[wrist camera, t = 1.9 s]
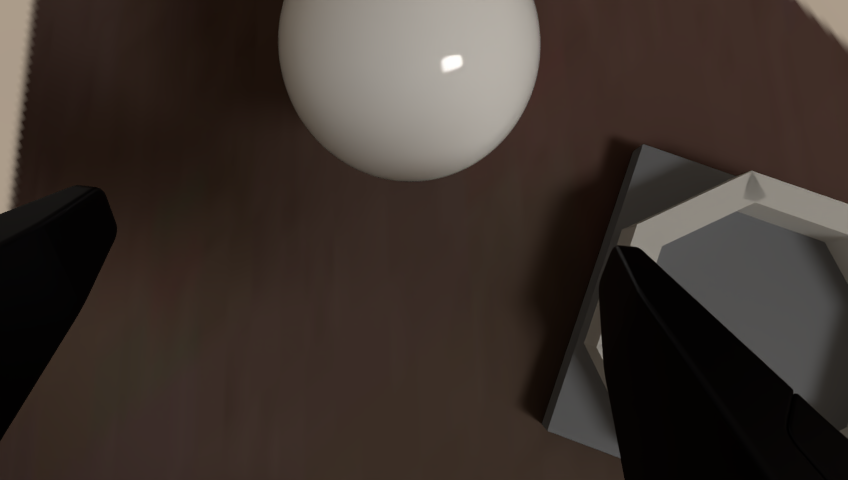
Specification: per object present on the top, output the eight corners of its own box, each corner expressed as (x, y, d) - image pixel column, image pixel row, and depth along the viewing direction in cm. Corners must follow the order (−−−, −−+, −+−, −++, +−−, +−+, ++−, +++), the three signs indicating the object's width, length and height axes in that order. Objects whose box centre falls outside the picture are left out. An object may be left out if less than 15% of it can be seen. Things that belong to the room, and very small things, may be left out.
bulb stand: (831, 532, 20) (889, 567, 17) (541, 423, 20) (556, 441, 18) (911, 247, 21) (977, 241, 18) (633, 151, 21) (659, 131, 19)
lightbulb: (308, 115, 21) (178, -71, 11) (445, 35, 22) (457, -229, 11) (390, 252, 21) (343, 205, 10) (530, 168, 21) (635, 31, 10)
